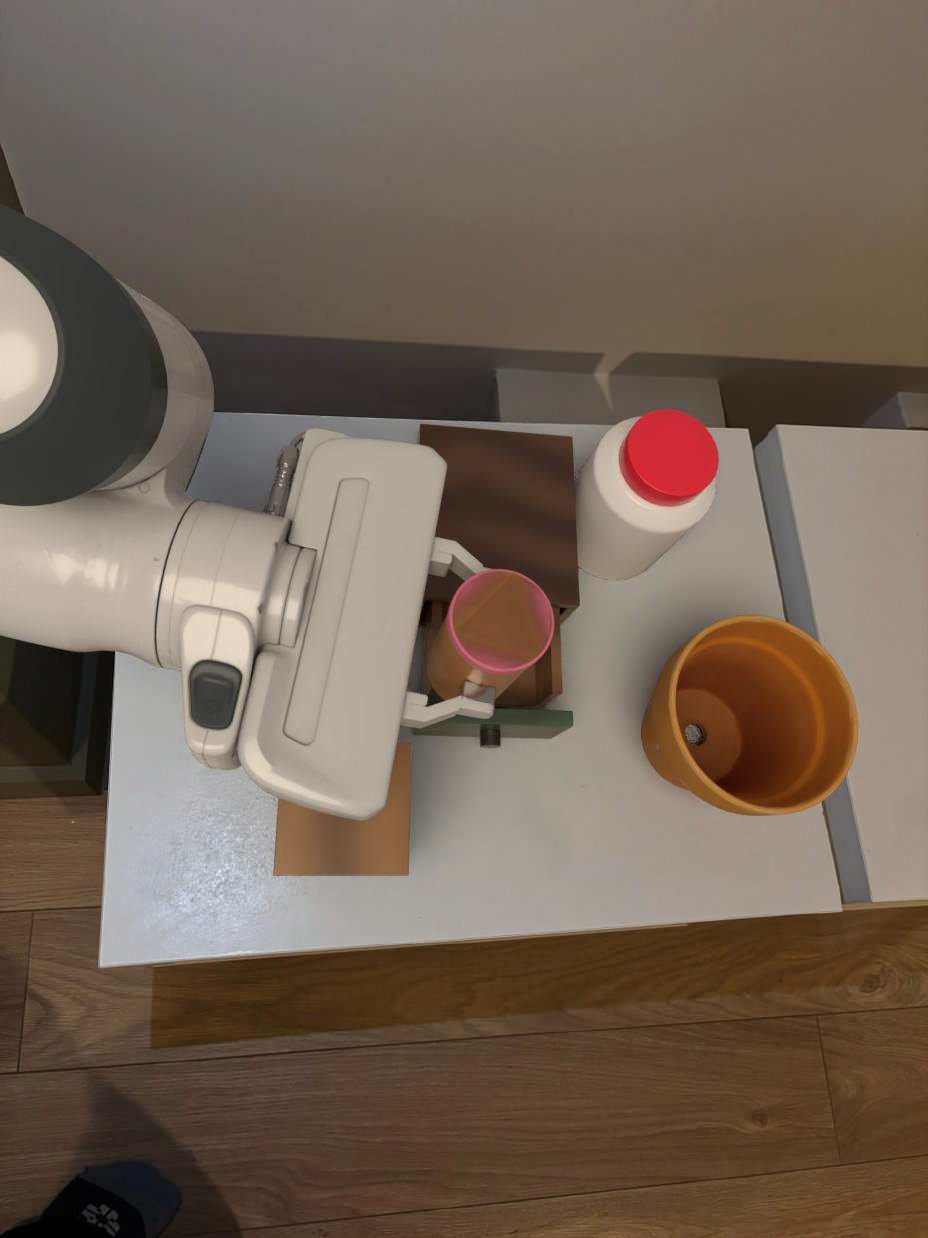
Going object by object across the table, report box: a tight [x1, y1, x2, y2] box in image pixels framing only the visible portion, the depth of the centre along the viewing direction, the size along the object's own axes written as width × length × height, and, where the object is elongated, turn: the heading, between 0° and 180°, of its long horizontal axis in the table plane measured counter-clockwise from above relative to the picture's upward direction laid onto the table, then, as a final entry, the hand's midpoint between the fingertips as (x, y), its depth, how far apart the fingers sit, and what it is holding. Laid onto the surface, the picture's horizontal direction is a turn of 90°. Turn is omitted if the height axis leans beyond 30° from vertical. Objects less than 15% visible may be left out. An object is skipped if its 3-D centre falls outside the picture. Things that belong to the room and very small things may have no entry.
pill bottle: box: [574, 408, 720, 581], centre depth 67 cm, size 10×10×14 cm
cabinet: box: [415, 423, 581, 629], centre depth 67 cm, size 15×13×8 cm
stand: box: [272, 742, 413, 877], centre depth 56 cm, size 8×8×14 cm
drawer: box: [412, 601, 574, 749], centre depth 64 cm, size 15×11×6 cm
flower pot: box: [640, 614, 859, 817], centre depth 63 cm, size 14×14×13 cm
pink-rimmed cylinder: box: [427, 569, 554, 701], centre depth 44 cm, size 5×5×10 cm
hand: (501, 647), depth 43 cm, fingers closed on pink-rimmed cylinder, 5 cm apart
